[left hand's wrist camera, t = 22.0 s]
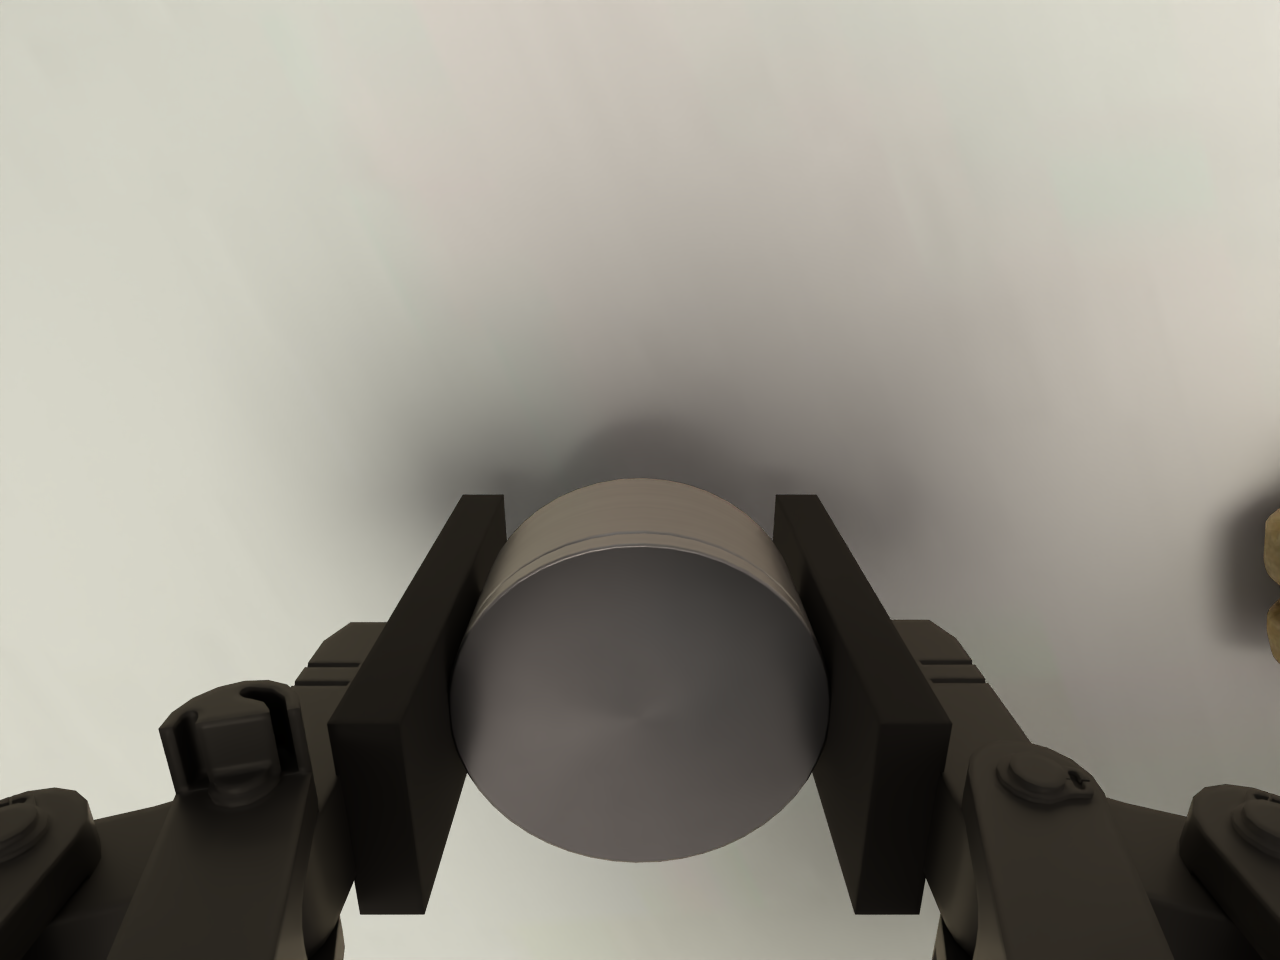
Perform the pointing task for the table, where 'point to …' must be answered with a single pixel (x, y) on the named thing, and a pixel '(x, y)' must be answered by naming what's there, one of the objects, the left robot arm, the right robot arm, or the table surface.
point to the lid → (639, 675)
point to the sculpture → (1276, 564)
